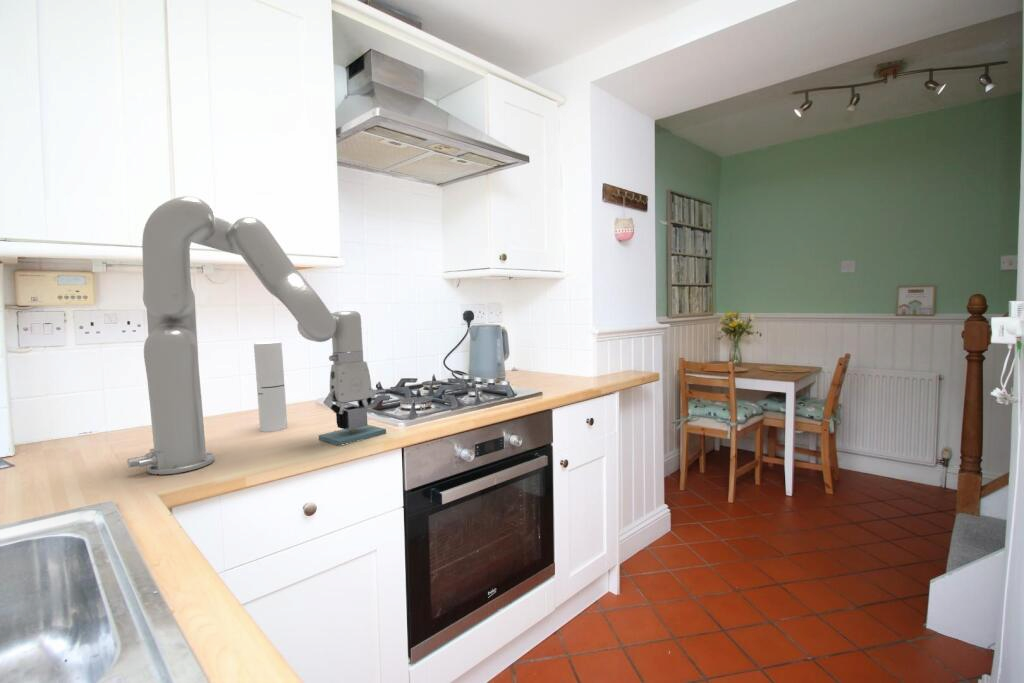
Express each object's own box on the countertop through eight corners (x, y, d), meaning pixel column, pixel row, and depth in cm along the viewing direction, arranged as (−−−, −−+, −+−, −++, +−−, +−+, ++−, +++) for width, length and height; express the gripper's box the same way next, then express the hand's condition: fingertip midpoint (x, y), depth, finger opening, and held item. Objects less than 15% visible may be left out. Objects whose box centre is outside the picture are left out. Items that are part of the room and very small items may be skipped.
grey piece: (280, 431, 138) (273, 343, 136) (255, 432, 138) (248, 344, 136) (291, 425, 145) (286, 341, 143) (268, 425, 145) (262, 342, 143)
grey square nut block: (349, 430, 126) (348, 411, 126) (337, 427, 129) (336, 408, 129) (367, 425, 130) (366, 407, 130) (355, 422, 134) (354, 405, 133)
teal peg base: (339, 446, 121) (338, 417, 121) (318, 439, 128) (316, 412, 127) (386, 433, 132) (384, 407, 132) (364, 428, 139) (363, 403, 138)
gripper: (325, 362, 119) (330, 435, 121) (384, 355, 133) (387, 420, 134) (310, 361, 124) (315, 430, 126) (367, 354, 137) (371, 417, 139)
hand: (352, 424), depth 130 cm, fingers closed on grey square nut block, 5 cm apart
